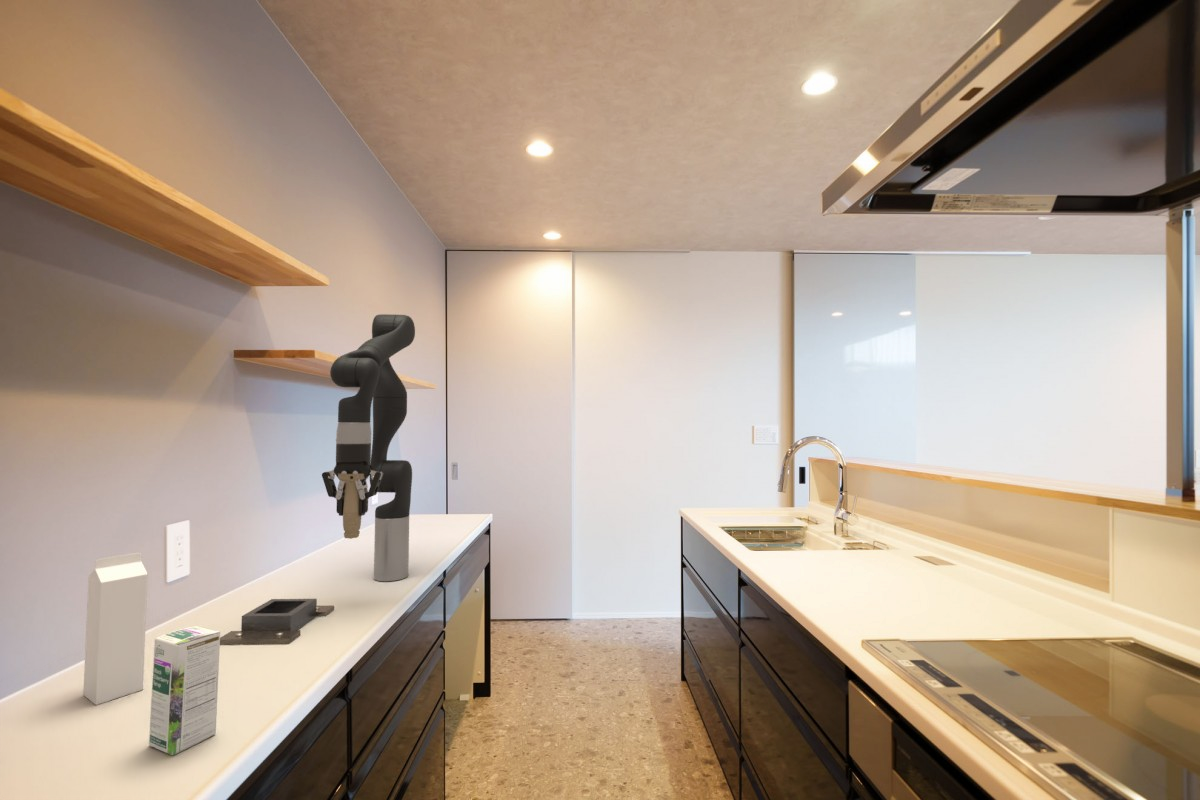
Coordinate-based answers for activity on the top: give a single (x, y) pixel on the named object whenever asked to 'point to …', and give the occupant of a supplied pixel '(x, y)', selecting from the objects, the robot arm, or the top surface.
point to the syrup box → (184, 688)
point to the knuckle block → (276, 622)
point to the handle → (351, 505)
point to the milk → (115, 628)
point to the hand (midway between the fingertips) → (352, 514)
